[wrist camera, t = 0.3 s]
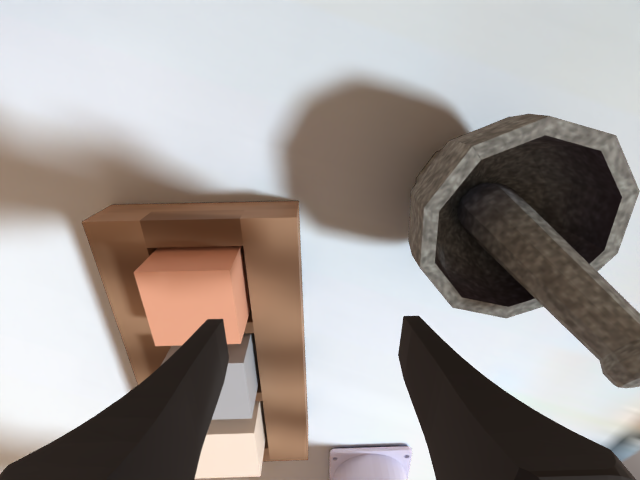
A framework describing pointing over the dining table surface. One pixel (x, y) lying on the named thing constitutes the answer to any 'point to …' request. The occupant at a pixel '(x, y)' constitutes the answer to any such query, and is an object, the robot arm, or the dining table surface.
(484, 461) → the robot arm
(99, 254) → the key block
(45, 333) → the dining table surface
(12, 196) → the dining table surface
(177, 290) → the terracotta key
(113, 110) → the dining table surface
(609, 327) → the mortar and pestle
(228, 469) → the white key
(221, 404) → the slate key
